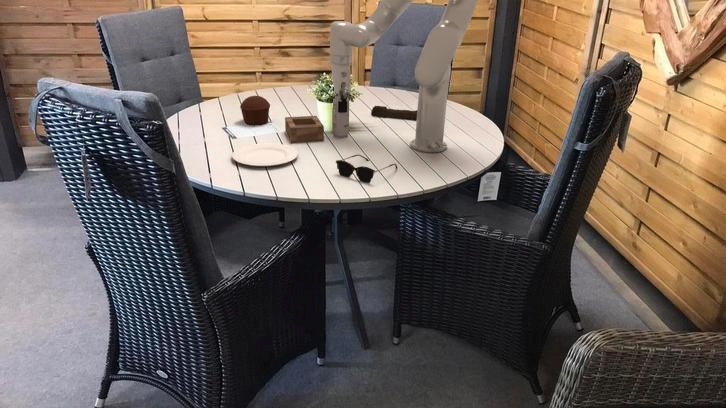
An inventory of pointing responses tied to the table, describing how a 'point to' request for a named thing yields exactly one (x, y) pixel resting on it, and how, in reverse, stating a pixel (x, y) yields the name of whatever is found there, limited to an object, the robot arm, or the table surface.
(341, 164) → the sunglasses
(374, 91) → the table surface
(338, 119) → the energy drink can
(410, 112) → the hand tool
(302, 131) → the holder block
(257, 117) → the muffin
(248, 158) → the plate
